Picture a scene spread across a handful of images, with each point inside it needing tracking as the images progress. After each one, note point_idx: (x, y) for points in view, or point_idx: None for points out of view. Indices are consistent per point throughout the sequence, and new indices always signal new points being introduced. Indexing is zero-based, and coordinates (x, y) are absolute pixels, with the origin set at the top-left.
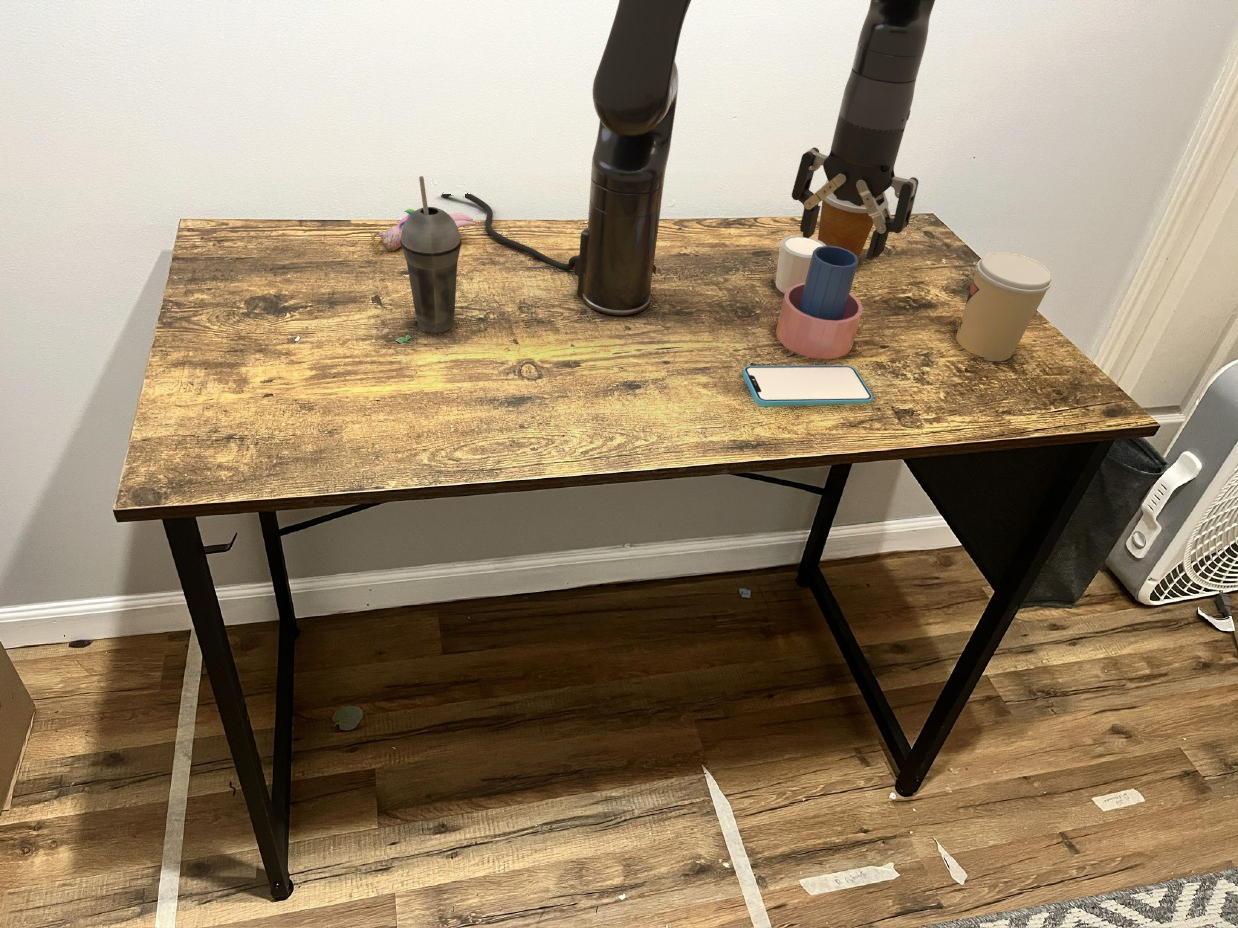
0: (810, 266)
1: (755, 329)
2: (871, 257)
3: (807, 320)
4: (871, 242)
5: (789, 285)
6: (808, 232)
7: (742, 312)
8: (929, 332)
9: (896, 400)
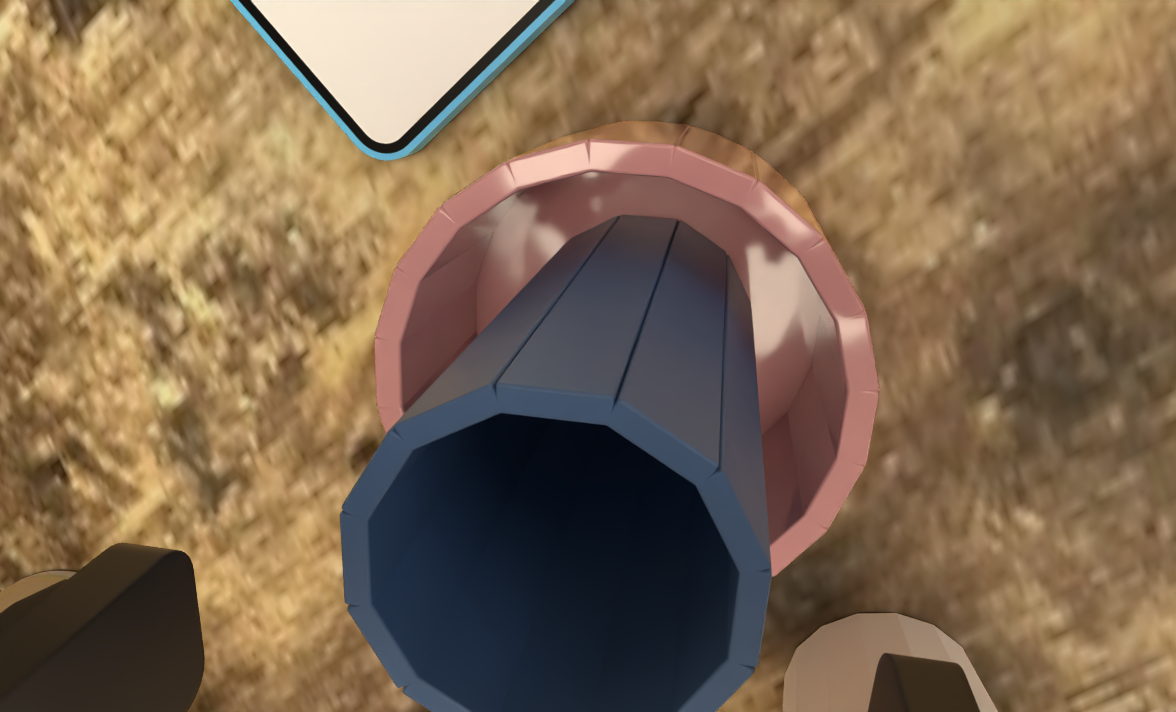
0: (745, 454)
1: (947, 240)
2: (107, 557)
3: (627, 139)
4: (16, 674)
5: (903, 653)
6: (903, 700)
7: (1068, 360)
8: (273, 651)
9: (147, 67)
